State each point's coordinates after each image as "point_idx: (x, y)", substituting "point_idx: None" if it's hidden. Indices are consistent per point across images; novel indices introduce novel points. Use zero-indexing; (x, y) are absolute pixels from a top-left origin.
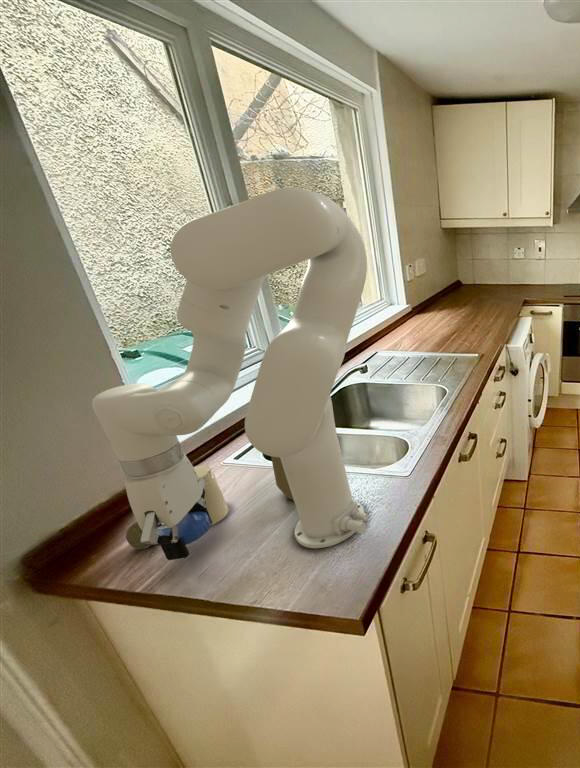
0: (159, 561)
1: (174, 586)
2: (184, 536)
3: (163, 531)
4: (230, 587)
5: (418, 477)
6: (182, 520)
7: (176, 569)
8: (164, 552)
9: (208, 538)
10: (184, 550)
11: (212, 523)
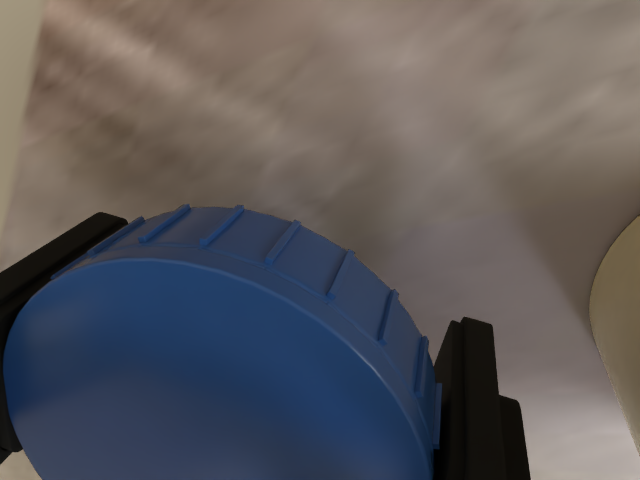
0: (293, 38)
1: (46, 211)
2: (37, 464)
3: (144, 297)
4: None
5: None
6: (289, 451)
7: (171, 187)
8: (51, 245)
9: (416, 318)
10: None
11: (594, 338)
